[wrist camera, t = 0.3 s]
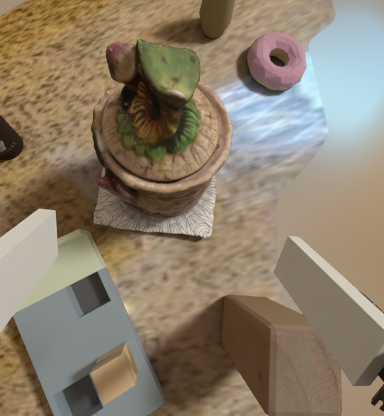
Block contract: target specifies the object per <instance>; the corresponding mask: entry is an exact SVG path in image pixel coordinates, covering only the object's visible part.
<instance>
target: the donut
mask: <svg viewBox="0 0 384 416" xmlns="http://www.w3.org/2000/svg"><path fill="white" fill-rule="evenodd" d="M269 56H275V57H276V58H278V59H279V60H281V61H282V62H284V66H283V67H279V66H276V65H275V64H273V63H272V62H271V60H270V57H269ZM247 63H248V66H249V70H250V73H251V75H252V76H253V78H254V79H255V81H256V82H258V83H260V84H261V85H263V86H265V87H266V88H268V89H270V90H284V91H285V90H287V89H289V88H290V87H292V86H293V85H294V84H296V83H298V82H300V80H301V78H302V76H303V73H304V71H305V69H306V58H305V53H304V50H303V49H302V48H301V47H300V46H299V45H298V43H297V42H296V41H295V40H294V39H293V38H292V37H291V36H290V35H287V34H282V33H278V32H271V33H265V34H263V35H262V36H260V37H258V38H257V39H256V40H255V41H254V43H253V44H252V45H251V47H250V49H249V52H248V55H247Z"/></svg>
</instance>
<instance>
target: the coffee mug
mask: <svg viewBox="0 0 384 416" xmlns="http://www.w3.org/2000/svg"><path fill="white" fill-rule="evenodd" d="M22 149H23V140H22V138H21V137H20V136H19V135H18V134H17V133H16V132H15V130H14V129H13V128H12V127H11V126H10V125H9V124H8V123H7V122H6V121H5V120H4V119H3V117H2V116H1V115H0V160H10V159H13V158H15V157H17V156H18V155H19V154H20V153H21V152H22Z"/></svg>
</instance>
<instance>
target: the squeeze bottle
mask: <svg viewBox="0 0 384 416" xmlns="http://www.w3.org/2000/svg"><path fill="white" fill-rule="evenodd" d="M234 3H235V0H202V4H201V8H200V12H199V13H200V21H201V29H202V32H203V33H204V34H205V35H206V36H207V37H210V38H218V37H220V36H221V35H222V34H223V32H224V31H225V30H226V28H227V27H228V25H229V24H230V21H231V17H232V13H233V8H234Z"/></svg>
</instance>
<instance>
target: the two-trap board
mask: <svg viewBox="0 0 384 416" xmlns="http://www.w3.org/2000/svg"><path fill="white" fill-rule="evenodd" d="M57 245H58V256H57V258H56V259H55V260H54V262H53V263H52V264H51V266H50V267H49V268H48V270H47V271H46V272H45V274H44V275H43V276H42V278H41V279H40V280H39V282H38V283H37V284H36V286H35V287H34V288H33V290H32V291H31V292H30V294H29V295H28V296H27V298H26V299H25V300H24V302H23V303H22V304H21V306H20V307H19V308H18V310H17V311H16V312H15V314H14V315H13V318H14V320H15V322H16V325H17V327H18V330H19V332H20V335H21V337H22V339H23V342H24V344H25V347H26V349H27V352H28V354H29V356H30V359H31V361H32V364H33V366H34V369H35V371H36V374H37V376H38V378H39V381H40V383H41V386H42V388H43V391H44V393H45V395H46V398H47V400H48V403H49V405H50V408H51V410H52V412H53V415H54V416H148V415H149V414H151V413H152V412H153V411H155V410H156V409H158V408H159V407H161V406H162V405H164V404H165V393H164V390H163V388H162V386H161V384H160V382H159V380H158V378H157V375H156V373H155V371H154V369H153V367H152V365H151V362H150V360H149V358H148V356H147V354H146V352H145V350H144V347H143V345H142V343H141V341H140V339H139V337H138V334H137V332H136V330H135V328H134V326H133V324H132V322H131V319H130V317H129V315H128V313H127V311H126V309H125V306H124V304H123V302H122V300H121V298H120V296H119V294H118V291H117V289H116V287H115V285H114V283H113V281H112V278H111V276H110V274H109V272H108V270H107V268H106V266H105V263H104V261H103V259H102V257H101V255H100V253H99V250H98V248H97V246H96V244H95V242H94V240H93V238H92V235H91V233H90V231H87V230H82V229H77V230H75V231H73V232H71V233H69V234H66V235H64V236H62V237H60V238H58V239H57ZM124 342H127V344H128V347H129V349H130V351H131V353H132V355H133V357H134V360H135V362H136V364H137V366H138V372H137V378H136V383H135V386H133V387H131V388H130V389H128V390H127V391H125V392H124V393H122V394H121V395H119V396H118V397H116V398H114V399H113V400H111V401H110V402H108V403H107V404H105V405H104V404H103V402H102V399H101V397H100V395H99V392H98V390H97V388H96V386H95V383H94V381H93V379H92V376H91V374H90V373H91V371H92V369H93V367H94V366H95V364H96V362H97V360H98V358H99V357H100V356H102V355H104V354H105V353H107V352H109V351H111V350H112V349H114V348H116V347H117V346H119V345H121V344H122V343H124Z"/></svg>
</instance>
